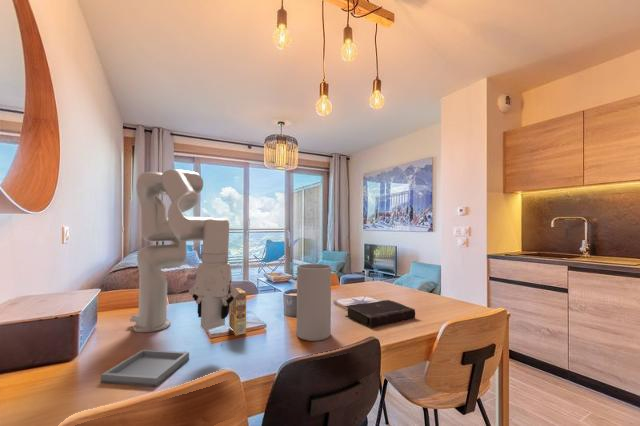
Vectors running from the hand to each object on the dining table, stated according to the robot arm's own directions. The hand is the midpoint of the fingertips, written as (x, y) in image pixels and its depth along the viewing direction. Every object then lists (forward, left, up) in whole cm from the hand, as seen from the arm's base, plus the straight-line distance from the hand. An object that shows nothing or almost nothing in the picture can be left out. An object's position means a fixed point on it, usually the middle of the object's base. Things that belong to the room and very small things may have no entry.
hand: (213, 316), depth 91 cm
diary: (+55, +45, -13) cm, 72 cm away
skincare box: (0, 0, -3) cm, 3 cm away
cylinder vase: (+29, +21, -12) cm, 37 cm away
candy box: (0, +21, -12) cm, 24 cm away
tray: (-13, -10, -12) cm, 21 cm away
